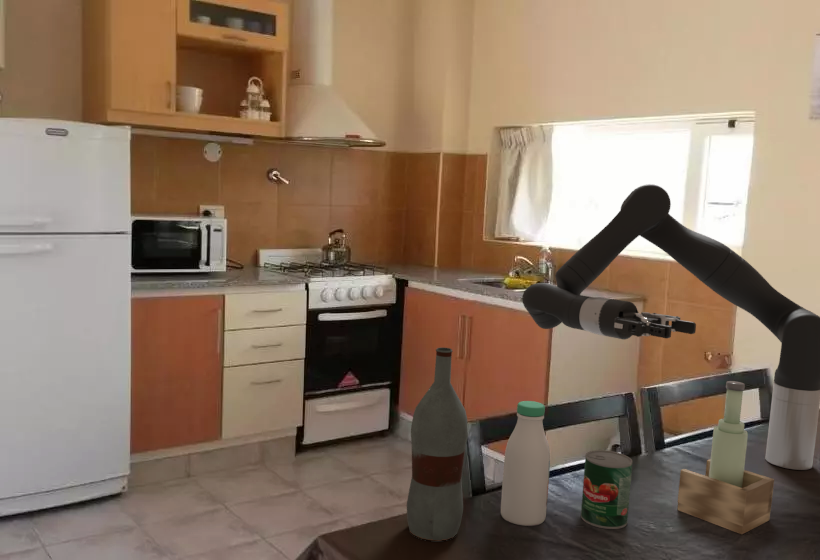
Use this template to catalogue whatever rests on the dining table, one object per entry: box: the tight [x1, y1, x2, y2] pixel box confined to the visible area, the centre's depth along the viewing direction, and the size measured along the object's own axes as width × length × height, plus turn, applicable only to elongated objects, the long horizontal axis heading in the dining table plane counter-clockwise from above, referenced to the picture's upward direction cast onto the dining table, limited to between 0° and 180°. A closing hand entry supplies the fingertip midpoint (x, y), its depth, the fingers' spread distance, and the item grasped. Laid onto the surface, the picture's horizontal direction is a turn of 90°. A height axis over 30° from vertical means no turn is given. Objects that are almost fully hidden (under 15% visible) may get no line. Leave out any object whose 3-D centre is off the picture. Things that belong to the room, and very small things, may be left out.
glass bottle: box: [709, 380, 749, 488], centre depth 138 cm, size 6×6×22 cm
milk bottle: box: [500, 400, 551, 527], centre depth 133 cm, size 8×8×20 cm
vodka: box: [406, 347, 469, 540], centre depth 125 cm, size 9×9×30 cm
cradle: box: [677, 458, 775, 535], centre depth 139 cm, size 12×10×8 cm
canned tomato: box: [580, 449, 633, 530], centre depth 135 cm, size 8×8×11 cm
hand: (682, 330), depth 144 cm, fingers open, 8 cm apart
